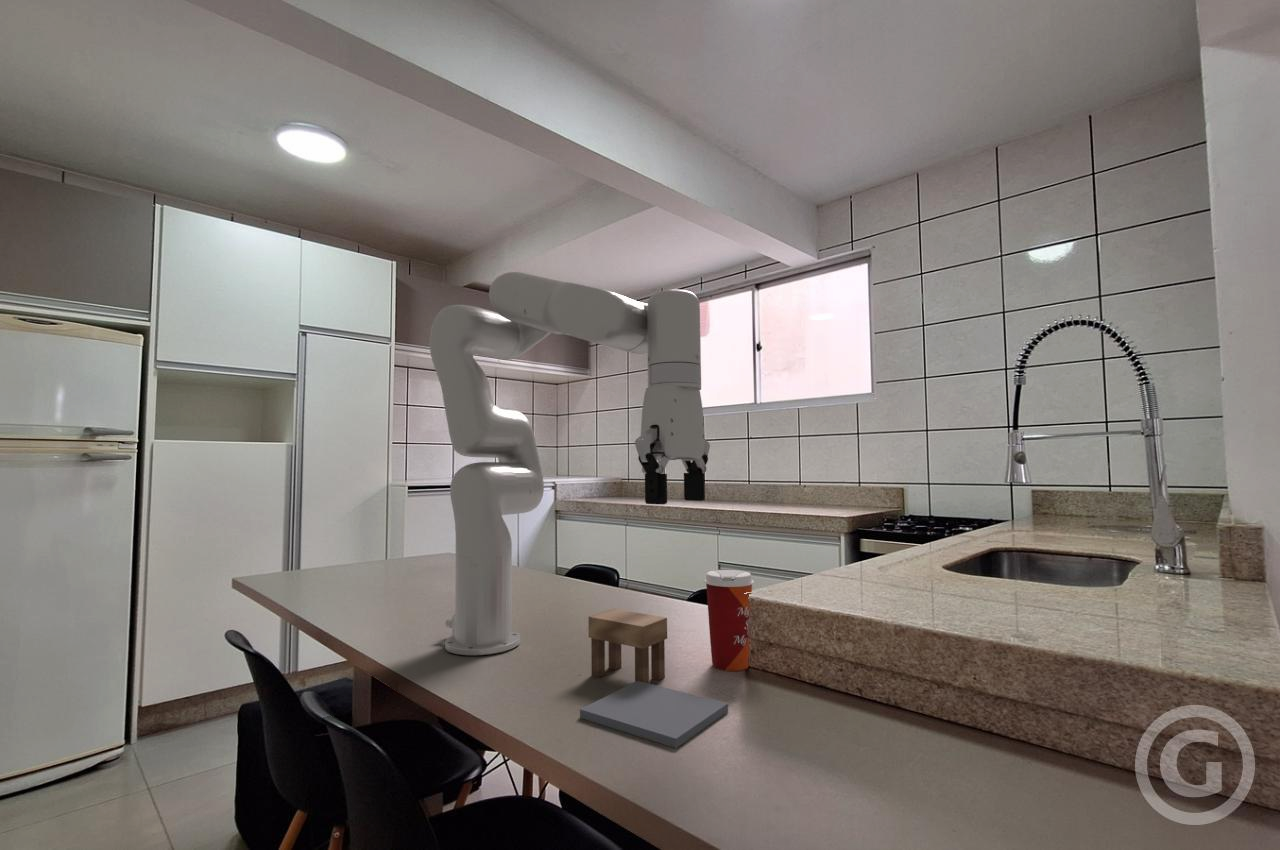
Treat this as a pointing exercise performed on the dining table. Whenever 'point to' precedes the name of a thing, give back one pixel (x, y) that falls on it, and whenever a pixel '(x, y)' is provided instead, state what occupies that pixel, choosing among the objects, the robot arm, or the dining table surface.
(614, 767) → the dining table surface
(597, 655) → the footstool
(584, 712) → the mat
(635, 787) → the dining table surface
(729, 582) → the paper cup
